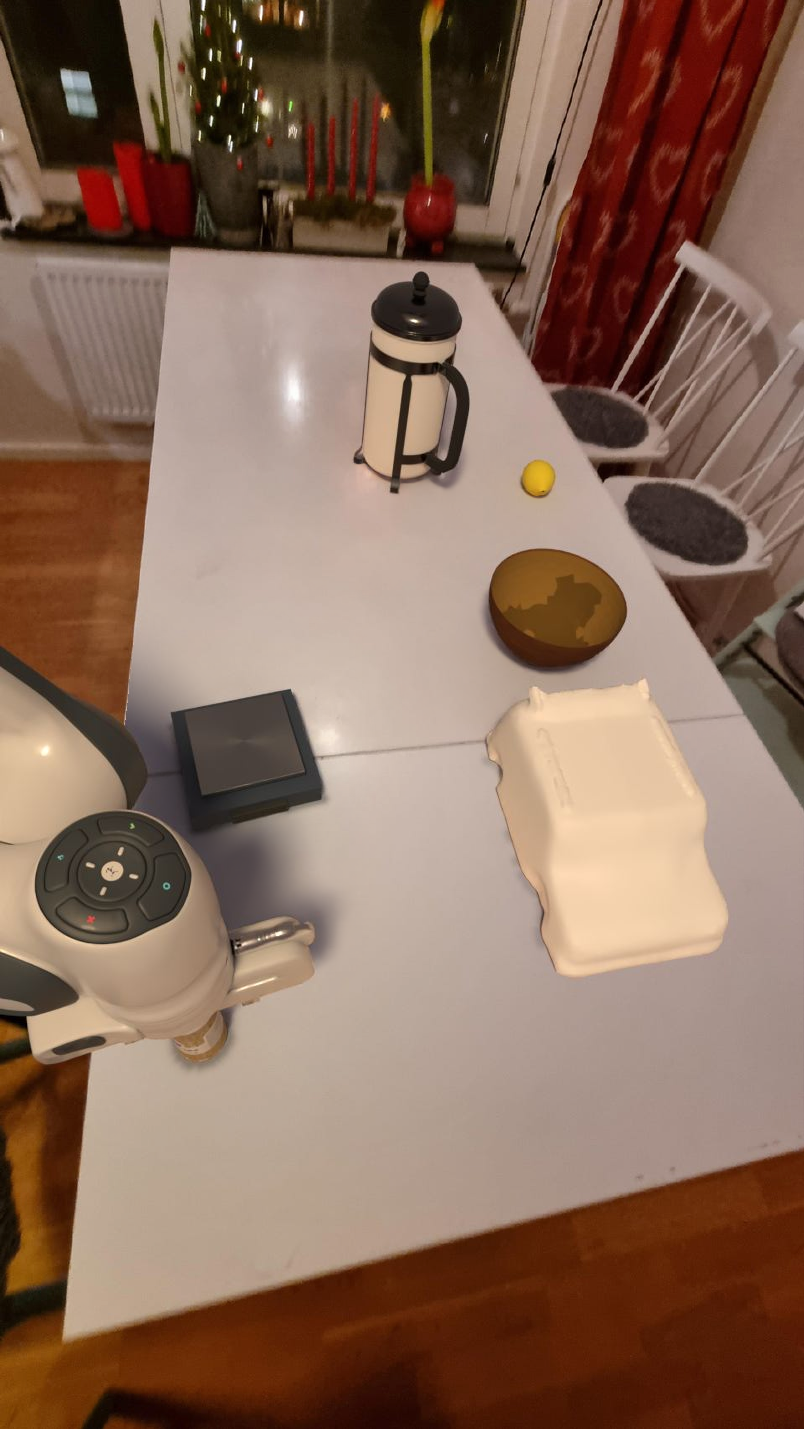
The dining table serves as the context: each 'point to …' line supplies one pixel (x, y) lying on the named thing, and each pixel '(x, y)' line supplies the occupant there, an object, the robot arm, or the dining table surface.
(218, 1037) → the sprinkles bottle
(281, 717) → the scale pan
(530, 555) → the bowl
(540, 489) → the lemon
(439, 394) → the coffee press
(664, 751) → the egg carton
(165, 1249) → the dining table surface
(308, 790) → the scale
